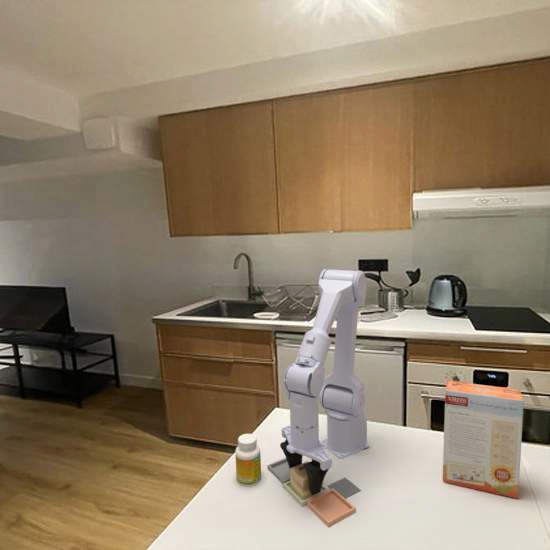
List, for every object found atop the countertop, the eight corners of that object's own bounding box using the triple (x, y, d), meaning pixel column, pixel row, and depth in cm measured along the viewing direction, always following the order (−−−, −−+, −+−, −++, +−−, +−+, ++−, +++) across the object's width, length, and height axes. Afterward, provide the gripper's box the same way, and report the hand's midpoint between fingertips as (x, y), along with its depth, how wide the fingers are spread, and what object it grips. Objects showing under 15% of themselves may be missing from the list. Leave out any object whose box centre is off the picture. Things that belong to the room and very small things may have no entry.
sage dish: (308, 476, 88) (308, 472, 87) (328, 494, 82) (328, 489, 82) (283, 488, 84) (282, 483, 84) (301, 507, 78) (301, 502, 78)
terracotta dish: (332, 492, 82) (332, 488, 82) (355, 513, 77) (355, 508, 76) (306, 506, 79) (306, 501, 79) (328, 528, 73) (328, 523, 73)
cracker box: (514, 481, 84) (521, 388, 81) (518, 500, 79) (525, 400, 76) (442, 466, 90) (446, 378, 87) (441, 482, 85) (445, 389, 82)
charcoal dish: (292, 459, 94) (292, 455, 94) (309, 474, 88) (309, 470, 88) (267, 469, 90) (267, 465, 90) (283, 486, 85) (283, 481, 85)
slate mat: (345, 478, 87) (345, 477, 87) (361, 491, 82) (361, 490, 82) (327, 487, 84) (327, 486, 84) (343, 501, 80) (343, 500, 80)
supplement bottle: (258, 489, 84) (256, 446, 83) (233, 486, 85) (231, 444, 84) (263, 473, 89) (262, 432, 88) (240, 470, 90) (238, 430, 89)
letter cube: (307, 480, 86) (307, 460, 85) (320, 492, 82) (320, 472, 82) (290, 488, 84) (290, 468, 83) (303, 500, 80) (302, 480, 79)
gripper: (269, 413, 85) (270, 471, 87) (310, 445, 73) (311, 512, 75) (296, 404, 88) (297, 460, 90) (339, 433, 76) (339, 497, 78)
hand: (305, 483), depth 83 cm, fingers open, 6 cm apart
